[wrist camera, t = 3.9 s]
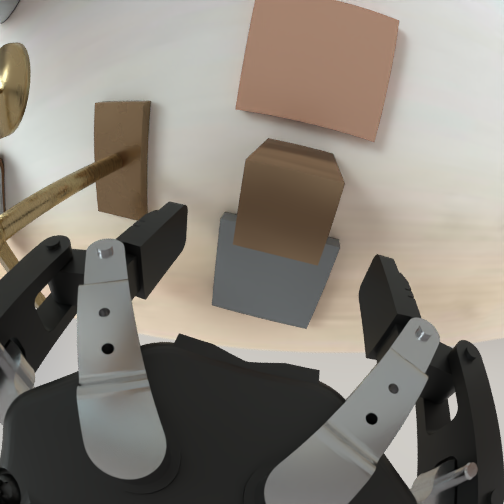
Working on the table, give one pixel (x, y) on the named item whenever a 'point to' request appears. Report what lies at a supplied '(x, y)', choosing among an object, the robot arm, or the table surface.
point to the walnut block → (288, 201)
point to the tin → (2, 189)
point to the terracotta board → (318, 64)
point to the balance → (101, 171)
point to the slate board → (268, 280)
